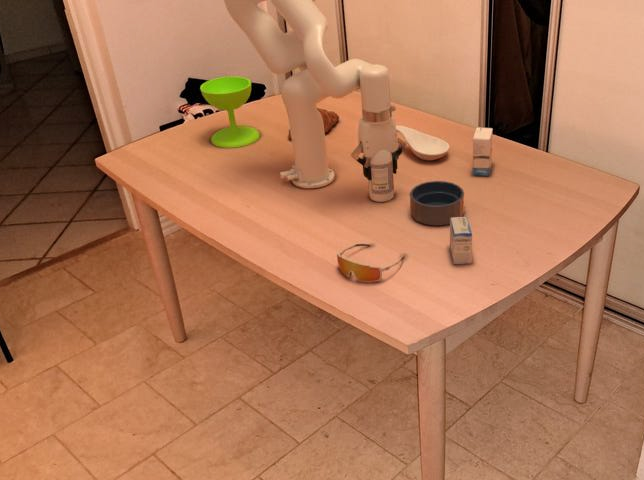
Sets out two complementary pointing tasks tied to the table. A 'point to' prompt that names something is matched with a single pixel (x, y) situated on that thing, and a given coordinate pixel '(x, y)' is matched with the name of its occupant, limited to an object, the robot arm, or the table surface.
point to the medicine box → (460, 240)
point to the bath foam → (381, 177)
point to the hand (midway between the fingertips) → (380, 174)
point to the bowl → (436, 202)
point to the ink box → (482, 151)
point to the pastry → (326, 120)
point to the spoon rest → (424, 143)
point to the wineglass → (230, 109)
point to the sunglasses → (361, 267)
